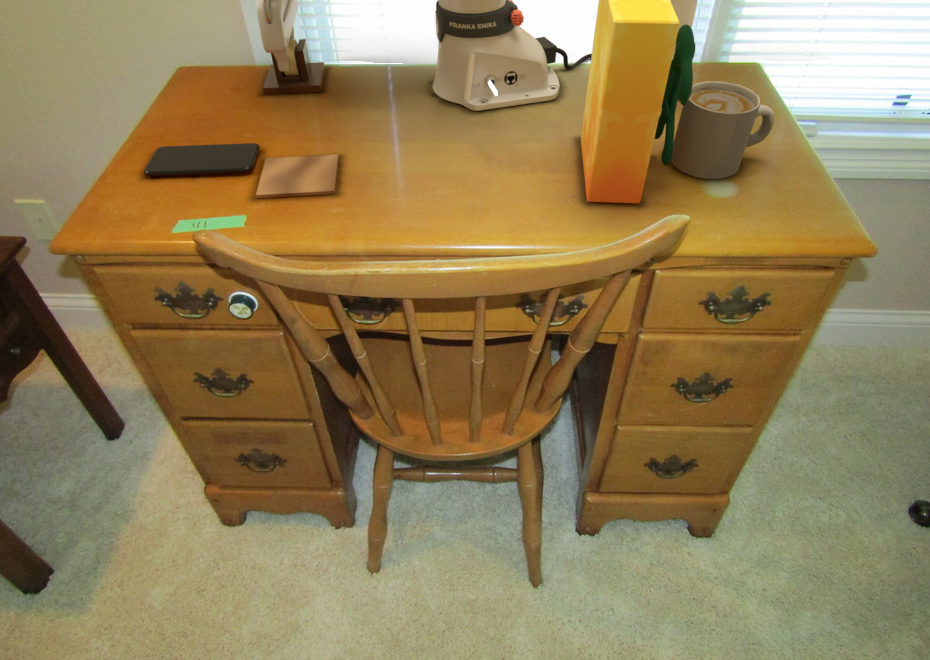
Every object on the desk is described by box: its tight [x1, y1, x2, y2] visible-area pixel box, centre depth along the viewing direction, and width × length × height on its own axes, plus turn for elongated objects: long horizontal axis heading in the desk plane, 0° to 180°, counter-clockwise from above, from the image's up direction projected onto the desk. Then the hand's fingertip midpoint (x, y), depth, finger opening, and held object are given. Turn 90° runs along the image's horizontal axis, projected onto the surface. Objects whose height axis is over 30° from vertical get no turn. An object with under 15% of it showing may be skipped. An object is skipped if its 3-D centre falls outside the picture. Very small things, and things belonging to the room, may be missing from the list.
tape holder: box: [262, 38, 326, 96], centre depth 113 cm, size 10×10×6 cm
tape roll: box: [284, 38, 301, 76], centre depth 113 cm, size 2×6×6 cm, turn 5°
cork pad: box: [255, 153, 340, 199], centre depth 93 cm, size 11×10×1 cm
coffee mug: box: [670, 80, 775, 180], centre depth 91 cm, size 13×10×10 cm
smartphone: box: [143, 142, 261, 177], centre depth 96 cm, size 8×1×16 cm
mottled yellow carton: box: [580, 0, 696, 204], centre depth 85 cm, size 18×12×24 cm
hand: (287, 58), depth 113 cm, fingers open, 8 cm apart
